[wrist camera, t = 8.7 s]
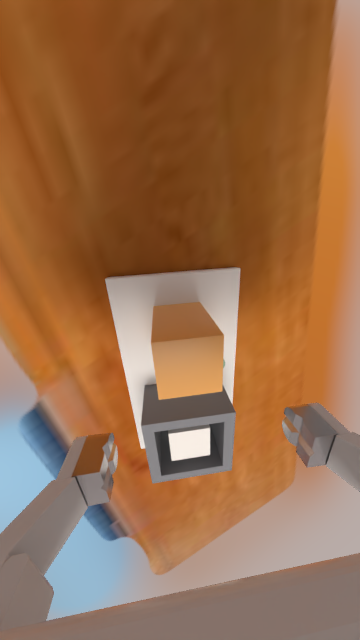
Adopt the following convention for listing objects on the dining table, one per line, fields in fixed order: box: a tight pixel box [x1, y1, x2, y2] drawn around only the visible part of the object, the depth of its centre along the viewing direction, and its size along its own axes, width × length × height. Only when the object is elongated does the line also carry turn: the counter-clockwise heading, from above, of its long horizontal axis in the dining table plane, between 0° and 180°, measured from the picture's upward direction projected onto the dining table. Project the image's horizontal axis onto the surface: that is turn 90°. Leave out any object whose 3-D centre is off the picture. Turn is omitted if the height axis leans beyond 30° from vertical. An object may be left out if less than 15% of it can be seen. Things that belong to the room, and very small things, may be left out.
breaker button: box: [168, 424, 210, 461], centre depth 20 cm, size 4×4×4 cm
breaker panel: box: [105, 267, 240, 483], centre depth 19 cm, size 22×12×6 cm, turn 4°
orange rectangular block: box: [151, 302, 224, 400], centre depth 15 cm, size 4×4×7 cm
